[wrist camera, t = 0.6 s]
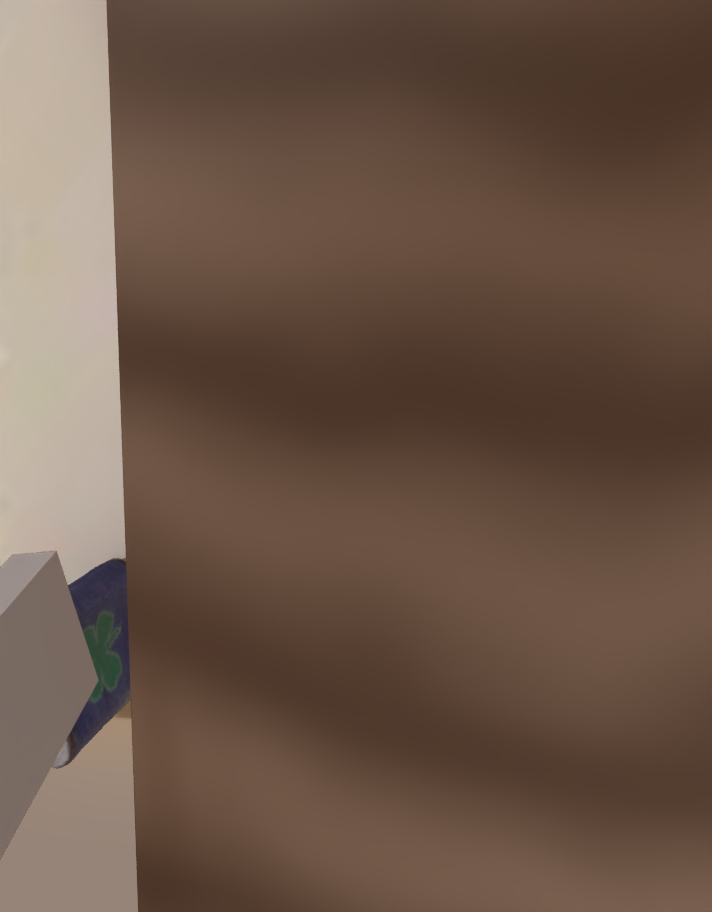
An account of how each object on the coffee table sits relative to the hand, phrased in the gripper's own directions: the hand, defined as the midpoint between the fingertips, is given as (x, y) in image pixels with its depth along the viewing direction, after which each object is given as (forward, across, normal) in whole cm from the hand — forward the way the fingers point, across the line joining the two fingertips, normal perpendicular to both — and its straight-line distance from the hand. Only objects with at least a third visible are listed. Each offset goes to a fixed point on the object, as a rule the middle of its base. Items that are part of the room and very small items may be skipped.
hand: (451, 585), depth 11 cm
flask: (+26, -20, -19) cm, 38 cm away
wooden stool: (+27, +3, -3) cm, 27 cm away
